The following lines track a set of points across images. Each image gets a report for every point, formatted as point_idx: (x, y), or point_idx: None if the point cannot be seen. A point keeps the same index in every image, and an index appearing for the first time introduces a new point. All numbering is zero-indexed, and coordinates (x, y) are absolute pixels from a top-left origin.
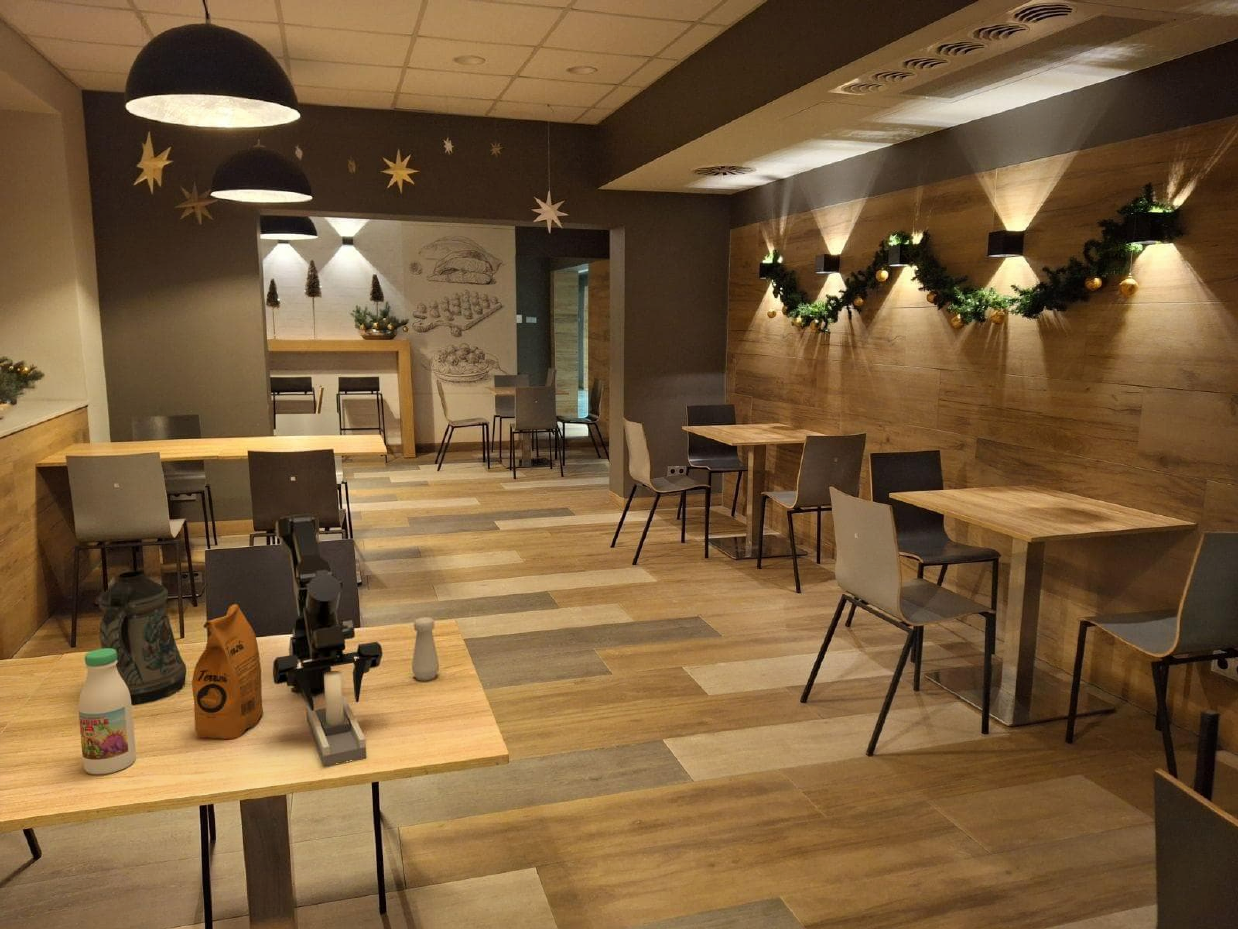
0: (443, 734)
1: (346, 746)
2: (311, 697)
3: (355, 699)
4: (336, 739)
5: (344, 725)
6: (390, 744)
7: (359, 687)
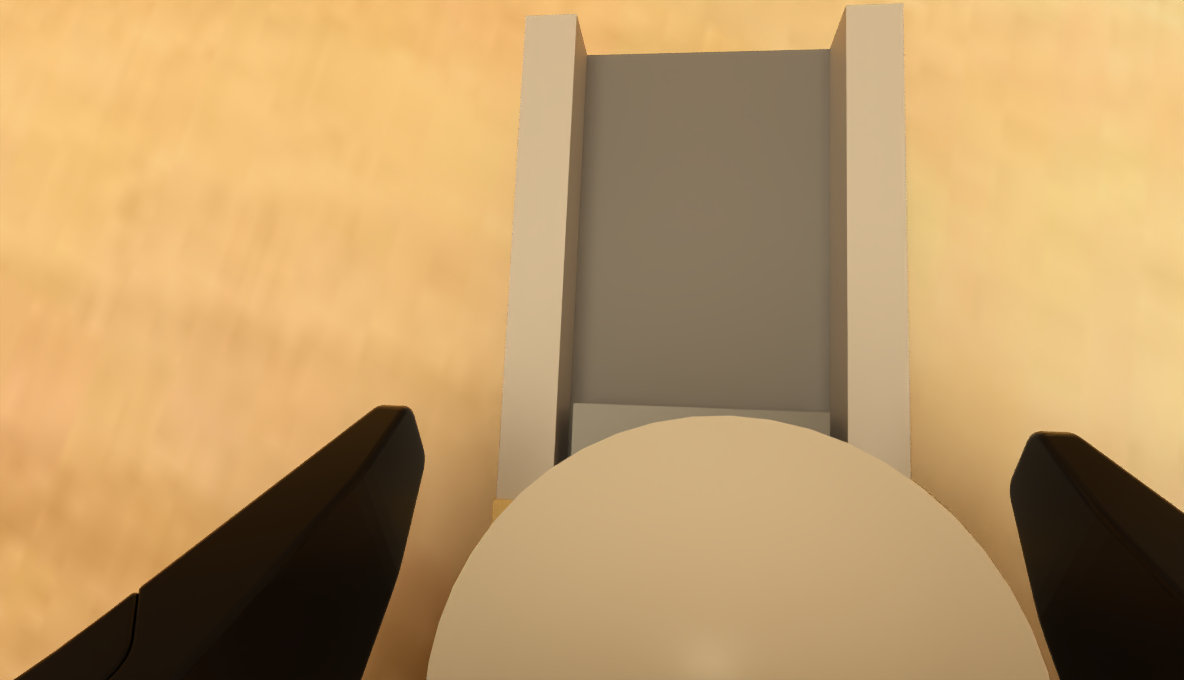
0: (11, 209)
1: (676, 130)
2: (1154, 546)
3: (411, 495)
4: (725, 305)
5: (625, 405)
6: (353, 231)
7: (255, 508)
